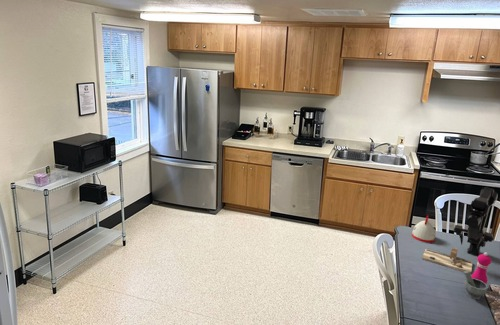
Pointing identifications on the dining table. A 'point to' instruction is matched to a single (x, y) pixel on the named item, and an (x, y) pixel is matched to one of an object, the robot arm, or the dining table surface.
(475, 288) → the mortar and pestle
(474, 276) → the pepper mill
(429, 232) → the white dome
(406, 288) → the dining table surface
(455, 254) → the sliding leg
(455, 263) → the gauge board
